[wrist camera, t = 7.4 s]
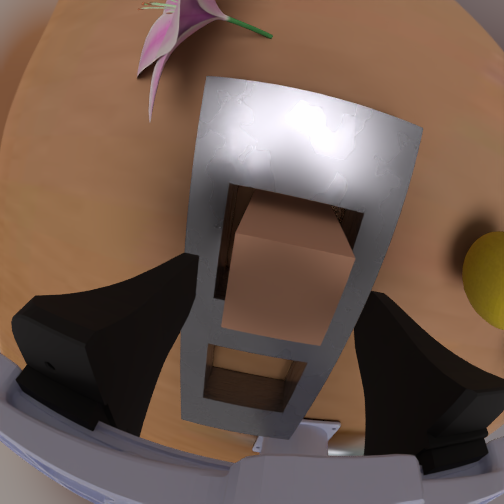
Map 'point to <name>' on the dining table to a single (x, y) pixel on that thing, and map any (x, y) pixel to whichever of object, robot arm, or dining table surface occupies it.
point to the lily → (178, 33)
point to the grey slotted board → (294, 184)
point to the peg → (286, 269)
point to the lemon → (486, 277)
